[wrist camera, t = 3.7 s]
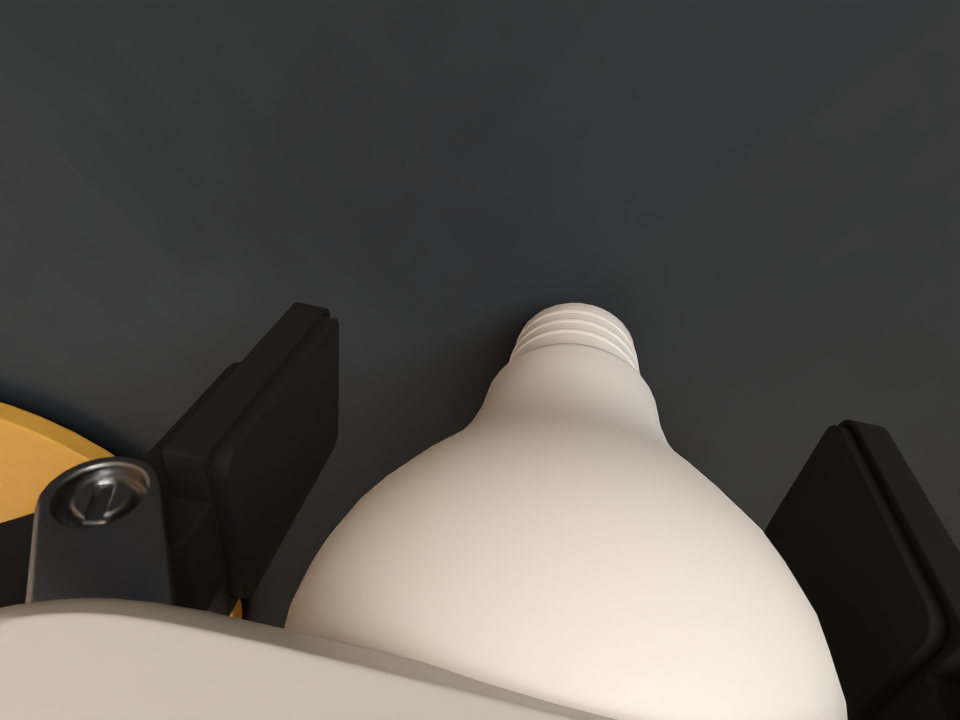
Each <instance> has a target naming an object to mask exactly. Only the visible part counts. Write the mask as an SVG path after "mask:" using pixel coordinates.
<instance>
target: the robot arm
mask: <svg viewBox="0 0 960 720" xmlns="http://www.w3.org/2000/svg"><path fill="white" fill-rule="evenodd" d="M338 394H339V322H338V320H337V319H335V318H331V317H330V313H329V310H328V309H327V308H322V307H317V306H313V305H308V304H303V303H299V302H298V303H295V304H293V305H292V306H291V307H290V308H289V310H288V311H287V312H286V313H285V314H284V315H283V316H282V317H281V318H280V320H279V321H278V322H277V323H276V324H275V325H274V326H273V327H272V328H271V330H270V331H269V332H268V333H267V334H266V335H265V336H264V337H263V338H262V340H261V341H260V342H259V343H258V344H257V345H256V346H255V347H254V348H253V350H252V351H251V352H250V353H249V354H248V355H247V356H246V357H245V358H244V360H243V361H242V362H241V363H238V362H237V363H233V364H231V365H230V366H229V367H228V368H226V369H225V370H224V372H223V373H222V374H221V375H220V376H219V377H218V378H217V379H216V380H215V381H214V382H213V383H212V385H211V386H210V387H209V388H208V389H207V390H206V391H205V392H204V393H203V394H202V395H201V396H200V398H199V399H198V400H197V401H196V402H195V403H194V404H193V405H192V406H191V407H190V408H189V409H188V411H187V412H186V413H185V414H184V415H183V416H182V417H181V418H180V419H179V420H178V421H177V423H176V424H175V425H174V426H173V427H172V428H171V429H170V430H169V431H168V432H167V433H166V434H165V436H164V437H163V438H162V439H161V440H160V441H159V442H158V443H157V444H156V445H155V446H154V447H153V449H152V450H151V451H150V452H149V453H148V454H147V455H146V456H145V457H144V458H143V459H142V460H138V459H135V458H130V457H121V456H114V457H104V458H98V459H94V460H91V461H87V462H83V463H81V464H78V465H76V466H74V467H72V468H70V469H68V470H66V471H64V472H63V473H61V474H60V475H59V476H57V477H56V478H55V479H53V480H52V481H51V482H50V483H49V484H48V485H47V486H46V487H45V489H44V490H43V491H42V492H41V494H40V495H39V498H38V501H37V504H36V507H35V513H32V514H28V515H25V516H22V517H19V518H15V519H12V520H9V521H6V522H2V523H0V720H616V719H612V718H608V717H605V716H601V715H597V714H593V713H589V712H585V711H581V710H577V709H573V708H569V707H566V706H562V705H558V704H554V703H550V702H547V701H544V700H541V699H537V698H534V697H531V696H527V695H524V694H521V693H517V692H514V691H511V690H507V689H504V688H501V687H497V686H494V685H491V684H487V683H484V682H481V681H478V680H475V679H472V678H469V677H466V676H463V675H460V674H457V673H454V672H451V671H448V670H445V669H442V668H439V667H436V666H433V665H430V664H427V663H424V662H421V661H417V660H412V659H408V658H404V657H400V656H396V655H392V654H388V653H384V652H380V651H376V650H371V649H367V648H363V647H359V646H355V645H351V644H347V643H343V642H339V641H335V640H330V639H326V638H322V637H318V636H314V635H310V634H305V633H301V632H297V631H292V630H288V629H283V628H279V627H274V626H270V625H266V624H261V623H257V622H252V621H248V620H243V619H239V618H235V617H230V614H231V612H232V611H233V609H234V607H235V605H236V604H237V602H238V600H239V598H240V597H241V598H245V599H248V598H249V597H250V596H251V595H252V594H253V593H254V591H255V589H256V588H257V586H258V584H259V582H260V580H261V578H262V577H263V575H264V573H265V571H266V569H267V568H268V566H269V564H270V562H271V560H272V559H273V557H274V555H275V553H276V551H277V550H278V548H279V546H280V544H281V542H282V541H283V539H284V537H285V535H286V533H287V532H288V530H289V528H290V526H291V524H292V523H293V521H294V519H295V517H296V515H297V514H298V512H299V510H300V508H301V506H302V505H303V503H304V501H305V499H306V497H307V496H308V494H309V492H310V490H311V488H312V487H313V485H314V483H315V481H316V479H317V478H318V476H319V474H320V472H321V470H322V469H323V467H324V465H325V463H326V461H327V460H328V458H329V456H330V454H331V452H332V451H333V448H334V446H335V443H336V440H337V436H338ZM764 534H765V535H766V536H767V538H768V539H769V541H770V542H771V543H772V545H773V546H774V547H775V549H776V550H777V551H778V553H779V554H780V555H781V557H782V558H783V560H784V561H785V562H786V564H787V566H788V567H789V569H790V571H791V572H792V574H793V576H794V577H795V579H796V581H797V582H798V584H799V586H800V587H801V589H802V591H803V592H804V594H805V596H806V597H807V599H808V601H809V602H810V604H811V606H812V607H813V609H814V611H815V612H816V614H817V616H818V619H819V622H820V625H821V628H822V631H823V633H824V636H825V639H826V642H827V645H828V648H829V651H830V654H831V657H832V660H833V663H834V666H835V670H836V673H837V676H838V679H839V682H840V685H841V689H842V692H843V695H844V698H845V701H846V708H847V719H848V720H960V553H959V551H958V550H957V548H956V546H955V544H954V543H953V541H952V539H951V538H950V536H949V534H948V533H947V531H946V529H945V527H944V526H943V524H942V522H941V521H940V519H939V517H938V516H937V514H936V512H935V510H934V509H933V507H932V505H931V504H930V502H929V500H928V499H927V497H926V495H925V493H924V492H923V490H922V488H921V487H920V485H919V483H918V482H917V480H916V478H915V476H914V475H913V473H912V471H911V470H910V468H909V466H908V465H907V463H906V461H905V459H904V458H903V456H902V454H901V453H900V451H899V449H898V448H897V446H896V444H895V442H894V441H893V439H892V437H891V436H890V434H889V432H888V431H887V430H886V429H885V428H883V427H880V426H876V425H871V424H866V423H862V422H857V421H852V420H844V421H843V422H841V423H840V424H839V425H838V426H835V425H833V426H830V427H829V428H828V429H827V430H826V431H825V433H824V435H823V436H822V438H821V439H820V441H819V443H818V444H817V446H816V447H815V449H814V451H813V452H812V454H811V456H810V457H809V459H808V460H807V462H806V464H805V465H804V467H803V469H802V470H801V472H800V473H799V475H798V477H797V478H796V480H795V482H794V483H793V485H792V486H791V488H790V490H789V491H788V493H787V495H786V496H785V498H784V499H783V501H782V503H781V504H780V506H779V508H778V509H777V511H776V512H775V514H774V516H773V517H772V519H771V521H770V522H769V524H768V525H767V527H766V529H765V533H764ZM208 611H209V612H208ZM212 612H213V613H212Z"/></svg>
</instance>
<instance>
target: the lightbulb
mask: <svg viewBox="0 0 960 720" xmlns="http://www.w3.org/2000/svg"><path fill="white" fill-rule="evenodd" d="M284 629H288V630H292V631H297V632H301V633H305V634H310V635H314V636H318V637H322V638H326V639H330V640H335V641H339V642H343V643H347V644H351V645H355V646H359V647H363V648H367V649H371V650H376V651H380V652H384V653H388V654H392V655H396V656H400V657H404V658H408V659H412V660H417V661H421V662H424V663H427V664H430V665H433V666H436V667H439V668H442V669H445V670H448V671H451V672H454V673H457V674H460V675H463V676H466V677H469V678H472V679H475V680H478V681H481V682H484V683H487V684H491V685H494V686H497V687H501V688H504V689H507V690H511V691H514V692H517V693H521V694H524V695H527V696H531V697H534V698H537V699H541V700H544V701H547V702H550V703H554V704H558V705H562V706H566V707H569V708H573V709H577V710H581V711H585V712H589V713H593V714H597V715H601V716H605V717H608V718H612V719H616V720H848V719H847V708H846V701H845V698H844V695H843V692H842V689H841V685H840V682H839V679H838V676H837V673H836V670H835V666H834V663H833V660H832V657H831V654H830V651H829V648H828V645H827V642H826V639H825V636H824V633H823V631H822V628H821V625H820V622H819V619H818V616H817V614H816V612H815V611H814V609H813V607H812V606H811V604H810V602H809V601H808V599H807V597H806V596H805V594H804V592H803V591H802V589H801V587H800V586H799V584H798V582H797V581H796V579H795V577H794V576H793V574H792V572H791V571H790V569H789V567H788V566H787V564H786V562H785V561H784V560H783V558H782V557H781V555H780V554H779V553H778V551H777V550H776V549H775V547H774V546H773V545H772V543H771V542H770V541H769V539H768V538H767V536H766V535H765V534H764V532H763V531H762V530H761V529H760V528H759V527H758V526H757V525H756V524H755V523H754V522H753V521H752V520H751V519H750V518H749V517H748V516H747V515H746V514H745V513H744V512H743V511H742V510H741V509H740V508H739V507H737V506H736V505H735V504H734V503H733V502H732V501H731V500H730V499H729V498H728V497H727V496H726V495H725V494H724V493H723V492H722V491H721V490H720V489H719V488H718V487H717V486H716V485H715V484H713V483H712V482H711V481H710V480H709V479H708V478H706V477H705V476H704V475H703V474H702V473H701V472H699V471H698V470H697V469H696V468H695V467H694V466H692V465H691V464H690V463H689V462H688V461H686V460H685V459H684V458H682V457H681V456H680V455H678V454H677V453H676V452H674V451H673V449H672V448H671V447H670V445H669V444H668V443H667V441H666V438H665V436H664V434H663V431H662V429H661V427H660V422H659V417H658V412H657V407H656V402H655V400H654V397H653V395H652V393H651V390H650V388H649V387H648V385H647V384H646V382H645V381H644V380H643V378H642V377H641V376H640V372H639V366H638V360H637V354H636V352H635V349H634V343H633V340H632V338H631V335H630V333H629V331H628V330H627V329H626V327H625V326H624V324H623V323H622V322H621V321H620V320H618V319H617V318H616V317H615V316H614V315H612V314H611V313H609V312H607V311H606V310H604V309H601V308H599V307H596V306H593V305H588V304H583V303H566V304H559V305H555V306H552V307H550V308H547V309H545V310H543V311H541V312H539V313H538V314H536V315H535V316H534V317H533V318H532V319H530V320H529V321H528V322H527V324H526V325H525V326H524V328H523V329H522V331H521V333H520V335H519V336H518V339H517V342H516V346H515V347H514V349H513V352H512V354H511V356H510V361H509V363H508V364H507V365H506V366H505V367H503V368H502V370H501V371H500V372H499V373H498V375H497V376H496V377H495V379H494V380H493V381H492V383H491V385H490V388H489V390H488V392H487V395H486V397H485V400H484V403H483V405H482V407H481V409H480V410H479V412H478V413H477V415H476V416H475V418H474V419H473V421H472V422H471V423H470V424H469V425H468V426H467V427H466V428H465V429H464V430H462V431H460V432H458V433H457V434H455V435H453V436H451V437H449V438H447V439H445V440H443V441H441V442H439V443H437V444H435V445H433V446H431V447H430V448H428V449H427V450H425V451H424V452H422V453H421V454H419V455H418V456H416V457H415V458H413V459H412V460H410V461H409V462H407V463H406V464H404V465H403V466H401V467H400V468H398V469H397V470H395V471H394V472H392V473H391V474H389V475H388V476H386V477H385V478H384V479H383V480H382V481H380V482H379V483H378V484H377V485H376V486H375V487H373V488H372V489H371V490H370V491H369V492H367V493H366V494H365V495H364V496H363V497H362V498H360V500H359V501H358V502H357V503H356V504H355V505H354V507H353V508H352V509H351V510H350V511H349V513H348V514H347V515H346V516H345V517H344V519H343V520H342V521H341V522H340V523H339V524H338V526H337V527H336V528H335V529H334V530H333V532H332V533H331V534H330V535H329V536H328V538H327V539H326V541H325V542H324V544H323V545H322V547H321V548H320V550H319V552H318V553H317V555H316V556H315V558H314V559H313V561H312V562H311V564H310V566H309V568H308V570H307V572H306V574H305V576H304V578H303V580H302V582H301V584H300V586H299V588H298V590H297V592H296V594H295V596H294V598H293V600H292V602H291V604H290V608H289V612H288V615H287V619H286V623H285V627H284Z"/></svg>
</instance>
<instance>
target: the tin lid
mask: <svg viewBox="0 0 960 720" xmlns="http://www.w3.org/2000/svg"><path fill="white" fill-rule="evenodd" d="M104 457H114V455H113V454H111V453H110V452H108V451H107V450H105V449H103V448H102V447H100V446H98V445H96V444H95V443H93V442H91V441H89V440H87V439H86V438H84V437H82V436H80V435H78V434H77V433H75V432H73V431H71V430H69V429H67V428H64V427H62V426H60V425H58V424H56V423H54V422H52V421H49V420H47V419H45V418H43V417H41V416H38V415H35V414H33V413H30V412H27V411H25V410H22V409H19V408H17V407H14V406H11V405H8V404H5V403H1V402H0V523H2V522H6V521H9V520H12V519H15V518H19V517H22V516H25V515H28V514H32V513H35V507H36V504H37V501H38V498H39V495H40V494H41V492H42V491H43V490H44V489H45V487H46V486H47V485H48V484H49V483H50V482H51V481H52V480H53V479H55V478H56V477H57V476H59V475H60V474H61V473H63V472H64V471H66V470H68V469H70V468H72V467H74V466H76V465H78V464H81V463H83V462H87V461H91V460H94V459H98V458H104ZM208 612H209V611H208ZM212 613H213V612H212ZM230 617H235V618H239V619H242V605H241V600H240V598H239V600H238V602H237V604H236V605H235V607H234V609H233V611H232V612H231V614H230Z"/></svg>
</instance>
